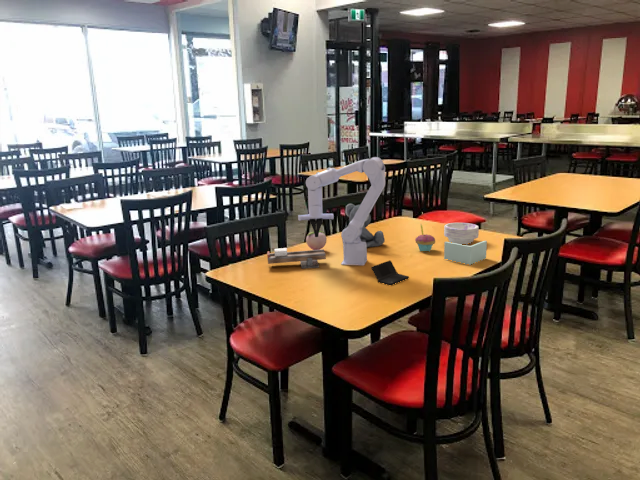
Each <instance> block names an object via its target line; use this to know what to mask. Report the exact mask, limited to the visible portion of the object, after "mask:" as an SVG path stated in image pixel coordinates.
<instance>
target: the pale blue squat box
mask: <svg viewBox="0 0 640 480" xmlns="http://www.w3.org/2000/svg"><path fill="white" fill-rule="evenodd" d="M487 243H488V241H487V240H483V241H480V242H477V243H475V244H472V245H468V244H466V245H462V244H457V243H451V242H450V241H444V248H443V251H444V252H443V255H444V256H443V260H444V259H448V260H452V261H451V262H453V261H456V262H455V263H457V262H461V263H460V264H462V263H465V264H464V265H467V264H469V265H468V266H472V265H474V264H476V263H475V262H477V263H479V262H481V261H484V260H486V259H487V247H488V246H487V245H488V244H487ZM485 258H486V259H485ZM483 259H484V260H483ZM448 260H447V261H448ZM480 260H481V261H480ZM478 261H479V262H478ZM473 263H474V264H473ZM471 264H472V265H471Z"/></svg>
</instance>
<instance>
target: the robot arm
mask: <svg viewBox="0 0 640 480" xmlns="http://www.w3.org/2000/svg"><path fill="white" fill-rule="evenodd" d="M355 172H357V173H361V174H362V173H364V174H365V175H366V176H367V178H368V179H369V182H370V185H371V186H370V187H369V189H368V190H367V192H366V194H365V196H364V197H363V200H362V201H361V203H360V204H359V205H360V207H359V209H358V210H357V212H356V214H355V216H354V218H353V219H352V221H351V222H350V221H349V223H348V225H347V227H345V228H344V229H343V230H342V231H341V233H340V235H341V240H342V239H343V241H342V247H343V253H342V254H343V260H342V262H341V263H340V265H343V266H345V265H346V266H365V264H366V263H367V261H368V251H367V250H368V249H367V248H368V247H367V245H366V242H362V241H361V239H360V237H359V236H360V235H361V233H362V227H363V225H364V222H365V220H366V218H367V217H368V215H369V214H370V213H371V212H372V210H373V208H374V206H375V204H376V203H377V200H378V198H379V197H380V195H381V193H383V190H384V188H385V187H386V166H385V164H384V161H383V160H382V159H381V158H380V157H377V156H373V157H371V158H366V159H365V158H364V159H360V160H357V161H355V162H353V163H349V164H348V165H345V166H342V167H340V168H334V167H326V169H325V170H323V171H321V172H319V171H318V172H316V174H312V175H310V176H309V177H307V178H306V180H305V186H306V188H307V195H308V196H307V199H308V202H307V203H308V204H307V205H308V214H298V215H297V219H298V221H299V222H300V221H309V223H310V225H311V227H312V230H313V232H314V234H315V237H318V235H319V231H321V226H322V225H323V221H324V220H334V217H335V216H334V213H323V187H325V186H328V185H331V184H333V183H337V182H338V181H339V179H340V177H343V176H346V175H349V174H352V173H355Z"/></svg>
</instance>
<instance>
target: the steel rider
mask: <svg viewBox="0 0 640 480" xmlns="http://www.w3.org/2000/svg"><path fill="white" fill-rule="evenodd" d="M287 252H288V248H287V247H283V248H282V247H281V248H274V253H275V257H284V256H287Z"/></svg>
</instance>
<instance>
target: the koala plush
mask: <svg viewBox="0 0 640 480" xmlns="http://www.w3.org/2000/svg"><path fill="white" fill-rule="evenodd" d="M360 205H361V204H357V205H355V204H353V203H348V204H347V205H345V213H344V214H345V215H346V216H347V217H348V218H349V219H348V221H349V223H350V222H351V221H352V219H353V218H354V216H355V214H356V212H357V210H358V209H359V207H360ZM371 217H372V216H371V214H370V213H369V215H368V217H367V218H366V220H365V222H364V225H363V227H362V233H361V235H360V236H359V237H360V239H361V241H362V242H366V245H367V248H370V247H371V248H372V247H373V248H374V247H379V246H382V245H384V243H385V235H384V232H383V231H382V230H377V231H376V232H374V234H373V233H372V232H370V231H369V230H368V229H367V227H368V226H369V225H370V223H371V220H372V218H371ZM341 240H342V241H341V242H343V239H342V238H341Z"/></svg>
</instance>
